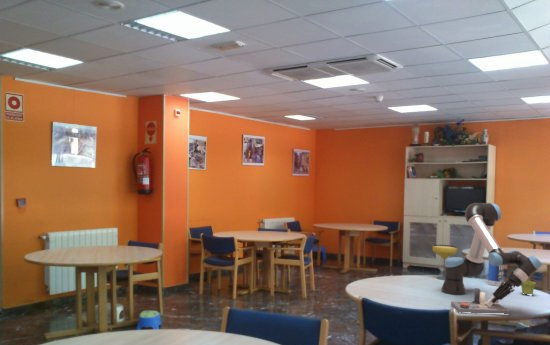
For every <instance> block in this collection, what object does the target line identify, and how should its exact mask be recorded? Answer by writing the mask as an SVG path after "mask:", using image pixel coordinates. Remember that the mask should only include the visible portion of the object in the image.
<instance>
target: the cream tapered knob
mask: <svg viewBox="0 0 550 345" xmlns="http://www.w3.org/2000/svg"><path fill="white" fill-rule="evenodd" d="M479 301H480V305H478V307H479V308H487V306H485V303H486V292H484V291H480V297H479Z"/></svg>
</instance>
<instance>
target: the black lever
mask: <svg viewBox="0 0 550 345" xmlns="http://www.w3.org/2000/svg"><path fill="white" fill-rule="evenodd" d="M480 292H481V289H480V288H474V295H473V296H474V298H473V299H474V300H472V301H471V302H472V303H473V304H480Z"/></svg>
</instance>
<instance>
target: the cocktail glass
mask: <svg viewBox="0 0 550 345" xmlns="http://www.w3.org/2000/svg"><path fill="white" fill-rule="evenodd" d="M432 252H433V253H435V254H437V256H440V257H441V258H442V260H443V271H442V272H443V275H442V276H437V277H436V279H437V280H441V281H445V261H446V259H447V258H450V257H451V256H453V255H455V254H457V252H458V247H457V246H454V245H448V244H447V245H446V244H433V245H432Z"/></svg>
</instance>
